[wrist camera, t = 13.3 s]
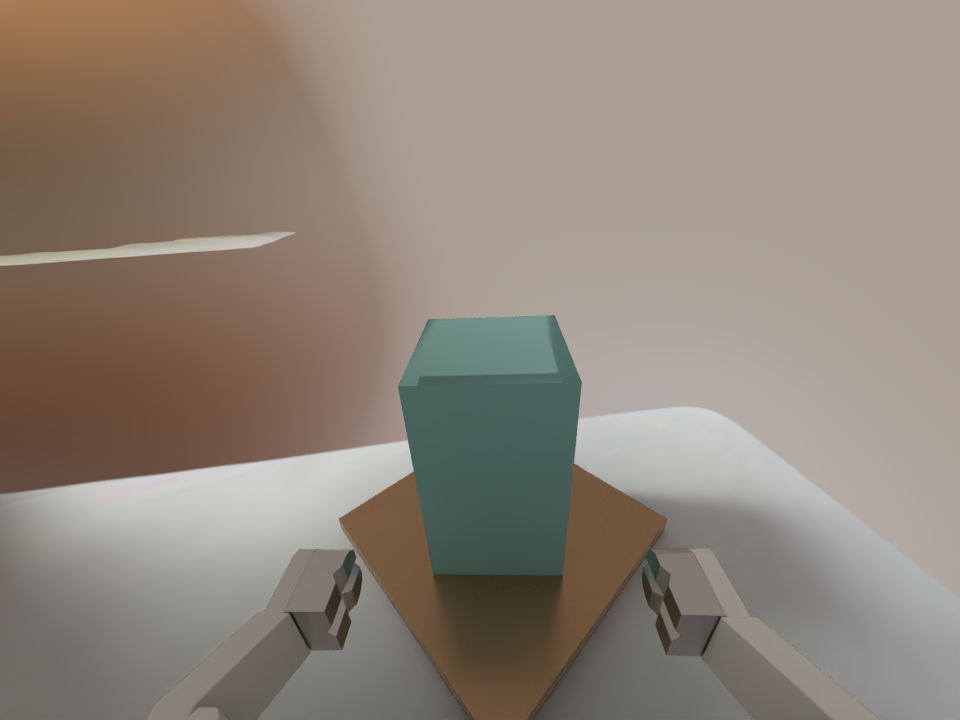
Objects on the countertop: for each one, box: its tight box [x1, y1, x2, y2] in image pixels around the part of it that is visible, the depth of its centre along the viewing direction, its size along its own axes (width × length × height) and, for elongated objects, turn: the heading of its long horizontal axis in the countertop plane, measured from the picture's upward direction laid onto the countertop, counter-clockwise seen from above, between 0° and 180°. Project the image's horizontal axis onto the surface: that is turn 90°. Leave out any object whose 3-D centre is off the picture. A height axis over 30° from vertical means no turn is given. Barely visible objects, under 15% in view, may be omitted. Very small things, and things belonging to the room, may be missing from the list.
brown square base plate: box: [339, 464, 667, 720], centre depth 17 cm, size 17×17×8 cm
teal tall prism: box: [398, 315, 582, 575], centre depth 16 cm, size 6×6×10 cm
